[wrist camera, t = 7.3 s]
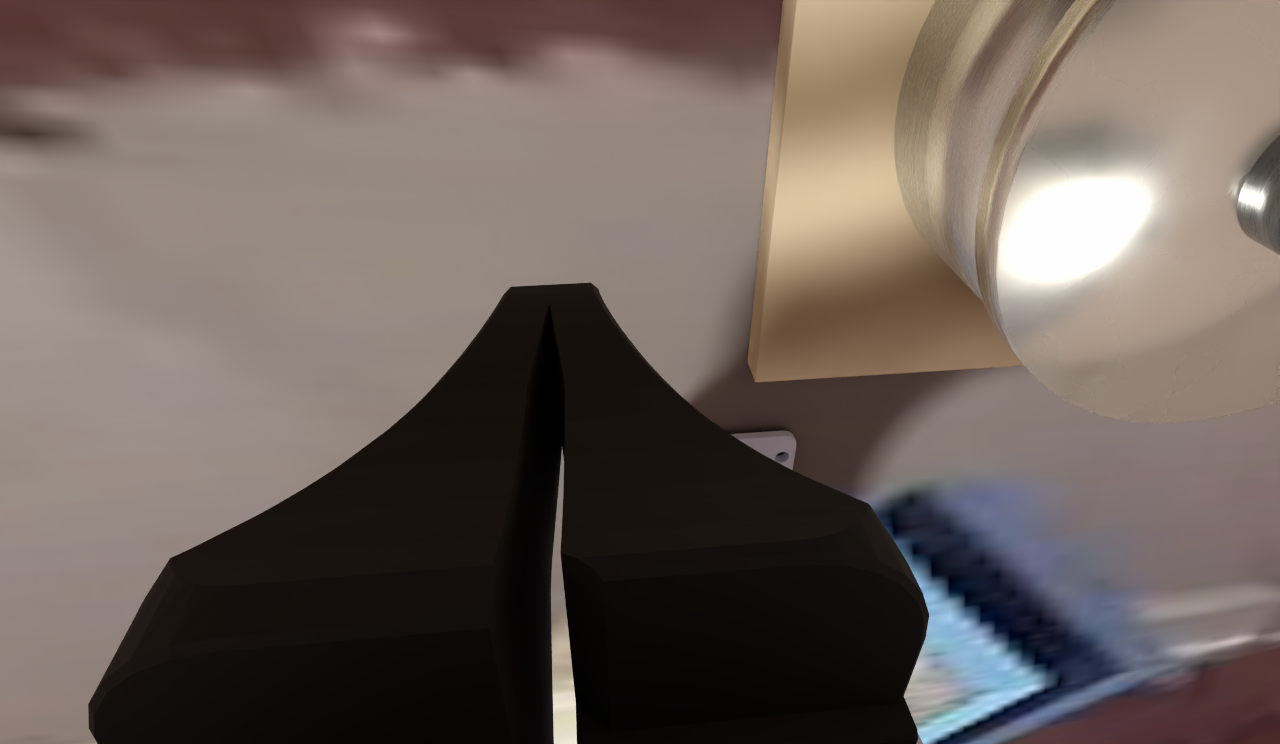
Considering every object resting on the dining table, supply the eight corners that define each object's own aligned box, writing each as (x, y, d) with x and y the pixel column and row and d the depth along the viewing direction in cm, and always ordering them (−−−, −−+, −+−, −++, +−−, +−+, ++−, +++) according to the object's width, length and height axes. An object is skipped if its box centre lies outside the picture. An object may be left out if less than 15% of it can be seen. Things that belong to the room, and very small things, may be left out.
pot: (1222, 278, 23) (1362, 367, 19) (859, 298, 22) (926, 396, 18) (1603, -457, 14) (2028, -581, 10) (1010, -474, 13) (1213, -619, 9)
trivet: (1236, 332, 26) (1262, 350, 25) (747, 361, 25) (755, 382, 24) (1627, -367, 16) (1696, -380, 15) (820, -382, 14) (840, -398, 14)
